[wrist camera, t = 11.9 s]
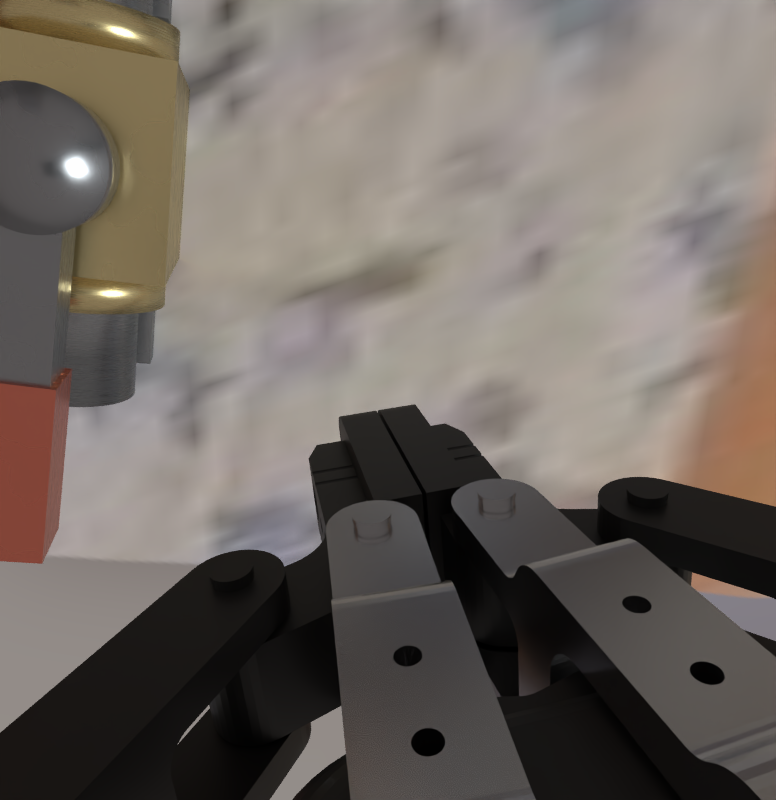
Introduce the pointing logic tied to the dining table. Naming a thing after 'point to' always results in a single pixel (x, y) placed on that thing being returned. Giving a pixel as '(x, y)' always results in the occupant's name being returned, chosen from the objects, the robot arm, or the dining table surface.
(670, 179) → the dining table surface
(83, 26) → the valve pipe
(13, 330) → the lever
